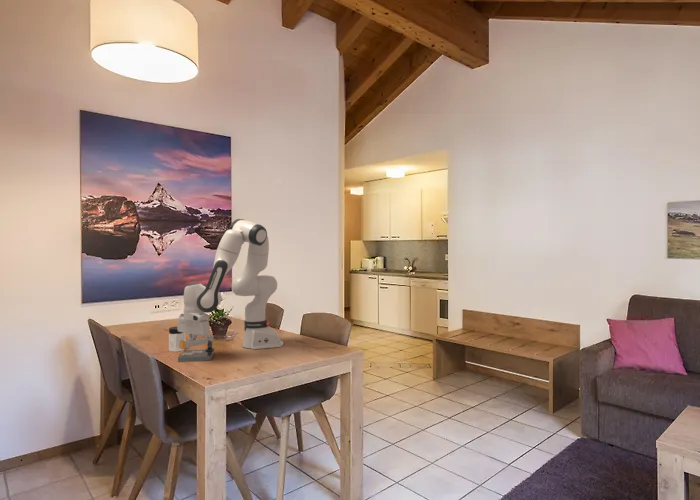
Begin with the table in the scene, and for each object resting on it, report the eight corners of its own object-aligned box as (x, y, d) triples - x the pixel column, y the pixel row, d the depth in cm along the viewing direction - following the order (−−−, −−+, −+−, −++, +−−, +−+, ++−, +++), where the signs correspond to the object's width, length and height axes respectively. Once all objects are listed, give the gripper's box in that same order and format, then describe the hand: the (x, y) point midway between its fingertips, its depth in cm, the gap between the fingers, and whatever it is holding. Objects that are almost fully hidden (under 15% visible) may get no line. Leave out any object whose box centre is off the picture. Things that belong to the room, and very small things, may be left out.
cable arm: (210, 342, 230) (210, 334, 230) (214, 343, 228) (213, 335, 228) (179, 348, 216) (179, 340, 216) (182, 349, 214) (182, 341, 214)
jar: (165, 351, 234) (164, 328, 234) (175, 347, 242) (175, 325, 242) (179, 352, 231) (179, 329, 231) (189, 348, 239) (189, 326, 239)
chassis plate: (214, 352, 230) (214, 342, 230) (210, 360, 215) (210, 348, 215) (184, 354, 227) (184, 343, 227) (178, 361, 212) (178, 350, 212)
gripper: (174, 314, 225) (174, 341, 225) (201, 318, 214) (201, 346, 214) (184, 312, 230) (184, 338, 230) (211, 316, 219) (211, 343, 220)
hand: (192, 342), depth 222 cm, fingers closed
